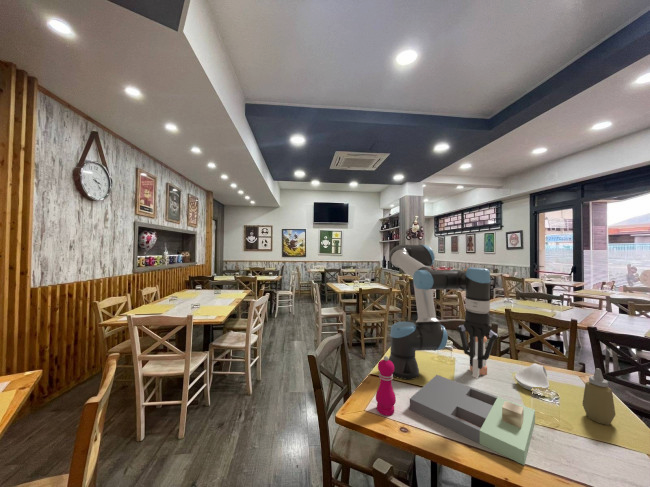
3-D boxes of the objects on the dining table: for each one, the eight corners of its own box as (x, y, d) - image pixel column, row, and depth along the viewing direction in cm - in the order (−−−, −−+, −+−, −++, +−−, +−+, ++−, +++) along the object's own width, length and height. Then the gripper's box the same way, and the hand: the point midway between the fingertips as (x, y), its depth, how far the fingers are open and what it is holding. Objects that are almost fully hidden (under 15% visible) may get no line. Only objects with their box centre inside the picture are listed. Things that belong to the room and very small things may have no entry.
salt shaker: (467, 367, 129) (467, 329, 130) (482, 368, 128) (483, 330, 129) (473, 374, 122) (474, 334, 122) (490, 375, 121) (490, 335, 121)
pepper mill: (382, 401, 99) (383, 350, 99) (399, 410, 94) (399, 356, 94) (371, 410, 94) (372, 355, 94) (388, 419, 89) (389, 362, 89)
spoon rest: (546, 399, 103) (546, 382, 103) (511, 387, 112) (511, 371, 112) (556, 380, 118) (556, 365, 118) (524, 371, 127) (524, 356, 127)
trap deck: (409, 409, 95) (409, 398, 95) (436, 383, 113) (436, 374, 113) (524, 465, 71) (524, 451, 71) (535, 421, 89) (535, 409, 89)
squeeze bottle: (577, 415, 93) (577, 366, 93) (588, 410, 96) (588, 362, 96) (609, 430, 85) (608, 376, 86) (620, 423, 88) (619, 372, 89)
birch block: (502, 420, 83) (502, 407, 83) (505, 413, 87) (505, 400, 87) (521, 428, 80) (521, 414, 80) (523, 420, 83) (523, 407, 83)
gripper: (454, 309, 93) (453, 372, 93) (496, 316, 84) (494, 387, 84) (460, 305, 98) (459, 366, 98) (501, 312, 89) (499, 379, 89)
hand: (475, 375), depth 91 cm, fingers closed
